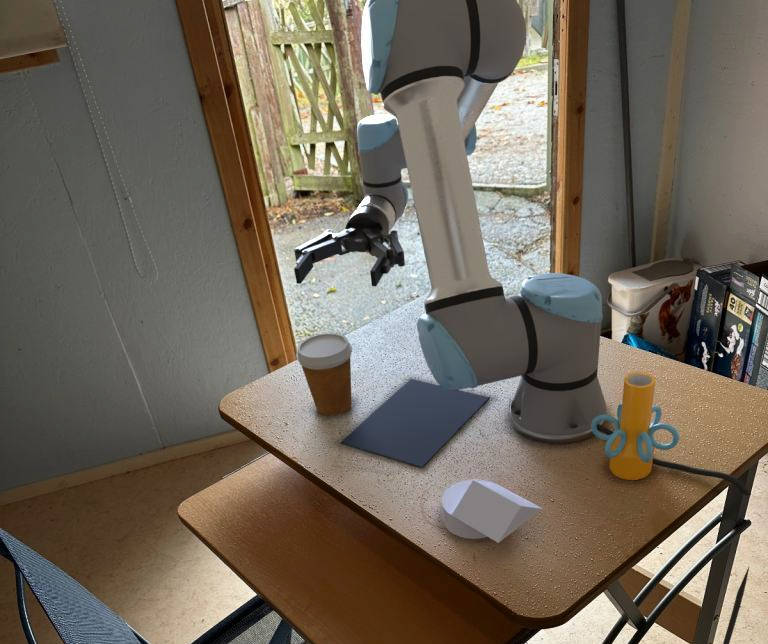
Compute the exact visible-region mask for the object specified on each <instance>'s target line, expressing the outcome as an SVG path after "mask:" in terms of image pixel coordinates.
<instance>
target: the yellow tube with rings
mask: <svg viewBox="0 0 768 644" xmlns="http://www.w3.org/2000/svg"><path fill="white" fill-rule="evenodd" d="M623 379H624V380H623V390H622V401H621V402H620V403H619V404H618V405H617V410H616V417H617V418H616V417H615V416H613V415H609V414H606V415H599V416H597V417H595V418H594V419H593V421H592V423H591V429H592V432H593V433H594V436H595V437H596V438H598V439H600V440H603V441H605V445H604V455H605V456H606V457H607V458H609V465H608V467H609V470H610V472H611V473H612V474H613V475H614V476H615V477H617V478H619V479H623V480H627V481H636V480H637V481H638V480H642V479H644V478H646V477H648V476H649V475H650V474H651V472H652V469H653V464H652V462H653V458H654V456H655V455H654V454H655V449H658V450H660V451H668V450H671V449H673V448H675V447H676V446H677V445H678V444H679V440H680V434H679V432H678V430H677V429H676V428H675V427H674V426H672V425H671V424H668V423H660V421H661V418H662V409H661V406H658V405H653V404H654V397H655V396H654V395H655V386H656V378H655V376H653V374H650V373H647V372H640V371H636V372H631V373H629V374H627V375H626V376H624V378H623ZM653 413H655V416H654V419H653V421H652V422H651V420H652V414H653ZM601 420H606V421H608V422H610V423H612V425H613V426H614V431H613V433H612V434H611V435H607V434H605V433H603V432H601V431H598V430H597V423H598V422H599V421H601ZM658 430H665V431H667V432H669V433H670V434H671V435H672V441H671V442H668V443H665V444H664V443H663V444H662V443H660V442H657V441H656V440H655V438H654V434H655V432H656V431H658Z"/></svg>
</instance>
